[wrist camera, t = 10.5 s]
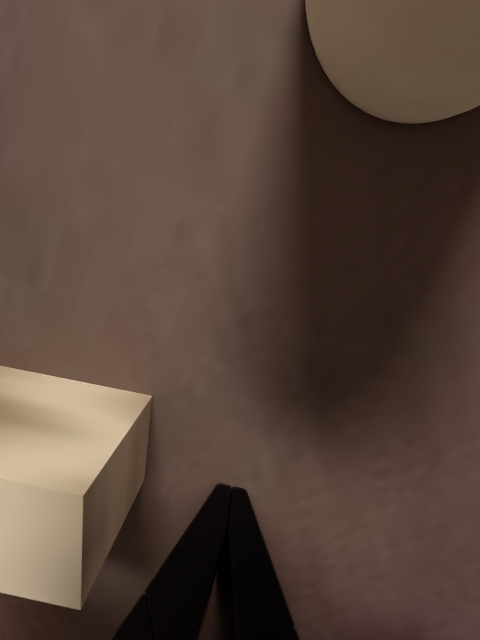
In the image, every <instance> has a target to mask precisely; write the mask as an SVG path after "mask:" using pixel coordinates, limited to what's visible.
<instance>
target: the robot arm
mask: <svg viewBox="0 0 480 640" xmlns="http://www.w3.org/2000/svg"><path fill="white" fill-rule="evenodd" d="M216 572H217V573H216ZM215 576H216V582H215V595H214V612H213V628H212V640H300V638H299V636H298V633H297V630H296V629H294V627H295V625H294V622H293V619H292V616H291V614H290V611H289V608H288V605H287V602H286V600H285V597H284V594H283V591H282V588H281V586H280V583H279V580H278V577H277V574H276V572H275V569H274V566H273V563H272V560H271V558H270V555H269V552H268V549H267V547H266V544H265V541H264V538H263V535H262V533H261V530H260V527H259V524H258V521H257V519H256V516H255V513H254V510H253V507H252V505H251V502H250V499H249V496H248V493H247V491H246V490H245V489H244V488H239V487H232V489H231V486H230V485H225V484H221V483H219V484H217V485H216V486H215V488H214V489H213V491H212V492H211V494H210V495H209V497H208V498H207V500H206V501H205V503H204V504H203V506H202V507H201V509H200V510H199V511H198V513H197V514H196V516H195V517H194V519H193V520H192V522H191V523H190V525H189V526H188V528H187V529H186V531H185V532H184V534H183V535H182V536H181V538H180V539H179V541H178V542H177V544H176V545H175V547H174V548H173V550H172V551H171V553H170V554H169V556H168V557H167V558H166V560H165V561H164V563H163V564H162V566H161V567H160V569H159V570H158V572H157V573H156V575H155V576H154V578H153V579H152V581H151V582H150V583H149V585H148V586H147V588H146V589H145V591H144V594H142V595H141V596H140V598H139V599H138V601H137V602H136V604H135V605H134V607H133V608H132V610H131V611H130V612H129V614H128V615H127V617H126V618H125V619H124V621H123V622H122V624H121V625H120V626H119V628H118V629H117V631H116V632H115V633H114V635H113V636H112V637H111V639H110V640H199V638H200V635H201V631H202V627H203V623H204V619H205V616H206V612H207V608H208V604H209V600H210V597H211V593H212V589H213V585H214V580H215Z"/></svg>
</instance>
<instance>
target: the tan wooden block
mask: <svg viewBox="0 0 480 640" xmlns="http://www.w3.org/2000/svg"><path fill="white" fill-rule="evenodd" d="M151 405H152V396H150V395H145V394H140V393H134V392H129V391H124V390H119V389H114V388H109V387H104V386H99V385H94V384H89V383H84V382H79V381H74V380H69V379H64V378H59V377H54V376H49V375H44V374H39V373H34V372H29V371H24V370H19V369H14V368H9V367H4V366H0V593H5V594H9V595H14V596H19V597H23V598H28V599H32V600H37V601H41V602H46V603H50V604H55V605H59V606H64V607H68V608H73V609H77V610H81V608H82V606H83V604H84V602H85V600H86V598H87V596H88V594H89V592H90V590H91V588H92V586H93V584H94V582H95V580H96V578H97V576H98V574H99V572H100V570H101V568H102V566H103V563H104V561H105V559H106V557H107V555H108V553H109V551H110V549H111V547H112V545H113V543H114V541H115V539H116V537H117V535H118V533H119V531H120V529H121V527H122V525H123V523H124V521H125V518H126V516H127V514H128V512H129V510H130V508H131V506H132V504H133V502H134V500H135V498H136V496H137V494H138V492H139V490H140V488H141V486H142V484H143V482H144V476H145V466H146V456H147V445H148V435H149V425H150V415H151Z"/></svg>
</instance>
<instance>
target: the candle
mask: <svg viewBox="0 0 480 640" xmlns="http://www.w3.org/2000/svg"><path fill="white" fill-rule="evenodd" d="M305 4H306V16H307V23H308V28H309V33H310V38H311V41H312V44H313V47H314V50H315V53H316V56H317V58H318V60H319V62H320V64H321V66H322V68H323V70H324V72H325V73H326V75H327V76H328V78H329V79H330V81H331V83H332V84H333V85H334V86H335V87H336V89H337V90H338V91H339V92H340V93H341V94H342V95H343V96H344V97H345V98H346V99H347V100H348V101H350V102H351V103H352V104H353V105H354V106H356V107H358V108H359V109H361V110H363V111H364V112H366V113H368V114H370V115H373V116H375V117H378V118H380V119H383V120H388V121H392V122H396V123H409V124H414V123H428V122H433V121H437V120H442V119H446V118H449V117H452V116H455V115H458V114H460V113H463V112H466V111H469V110H471V109H473V108H475V107H477V106H479V105H480V0H305Z"/></svg>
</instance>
